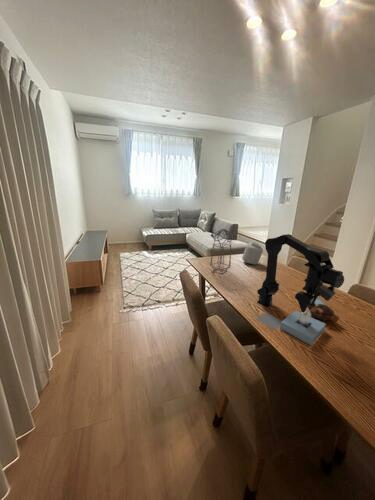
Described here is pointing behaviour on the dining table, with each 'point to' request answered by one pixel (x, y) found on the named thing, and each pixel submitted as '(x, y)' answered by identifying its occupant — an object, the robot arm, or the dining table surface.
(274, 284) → the robot arm
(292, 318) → the blue peg hole block
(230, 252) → the geometric lantern
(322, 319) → the decorative turtle
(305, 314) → the steel pin
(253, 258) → the jar
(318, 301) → the smartphone
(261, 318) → the rubber mat
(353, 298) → the dining table surface
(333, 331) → the dining table surface
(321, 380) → the dining table surface
